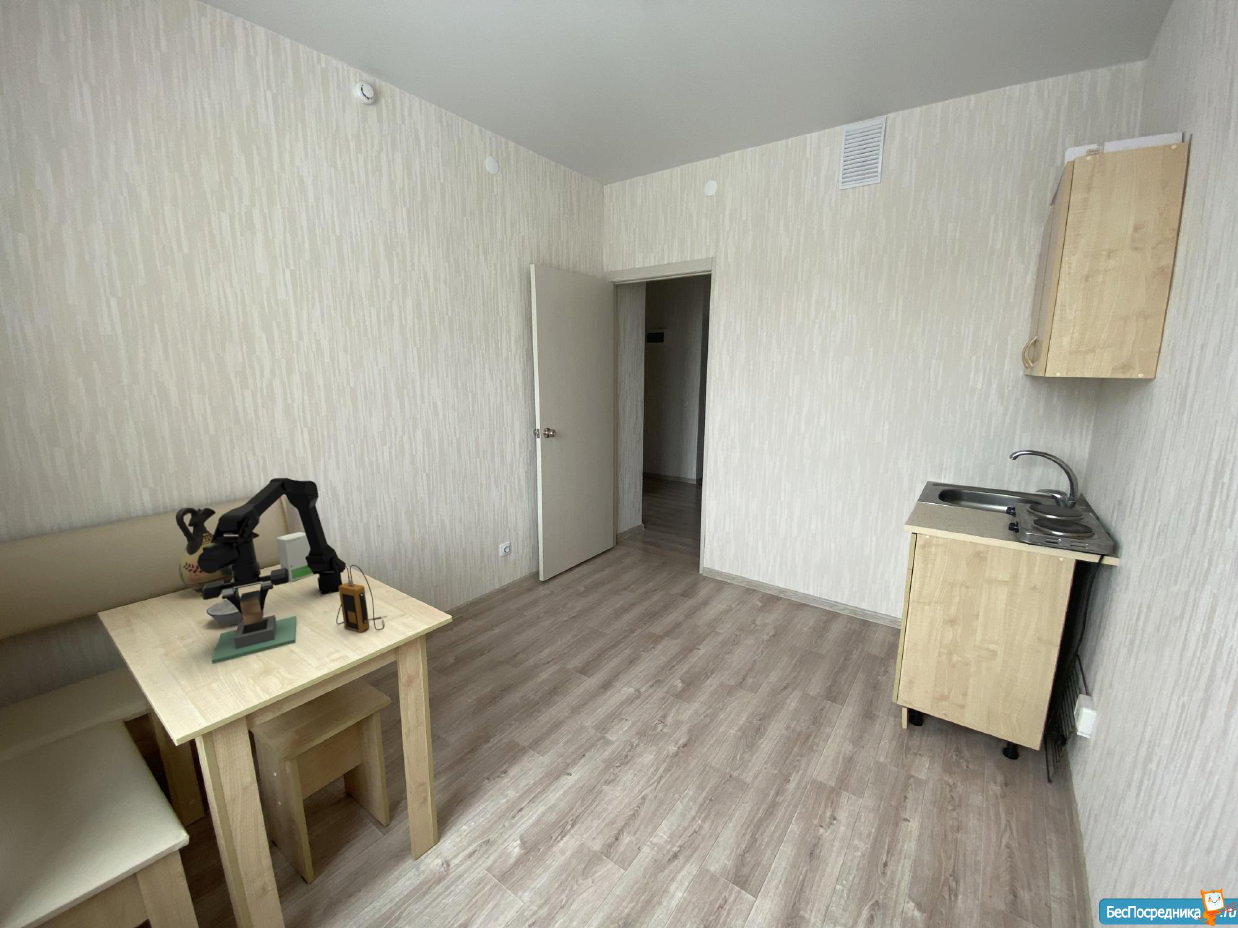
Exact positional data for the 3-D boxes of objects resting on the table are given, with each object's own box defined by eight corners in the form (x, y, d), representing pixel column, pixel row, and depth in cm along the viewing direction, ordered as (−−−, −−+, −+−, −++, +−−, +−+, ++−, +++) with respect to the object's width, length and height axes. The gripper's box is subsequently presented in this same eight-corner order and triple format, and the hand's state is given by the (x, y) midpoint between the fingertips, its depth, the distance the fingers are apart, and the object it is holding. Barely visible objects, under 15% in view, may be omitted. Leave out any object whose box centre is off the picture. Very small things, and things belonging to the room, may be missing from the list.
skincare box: (290, 582, 180) (283, 540, 177) (281, 579, 183) (274, 537, 180) (315, 574, 187) (308, 533, 184) (305, 570, 190) (299, 530, 187)
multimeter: (399, 619, 151) (391, 555, 147) (371, 635, 142) (361, 567, 138) (364, 610, 157) (356, 548, 153) (335, 626, 148) (325, 560, 144)
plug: (263, 613, 144) (259, 589, 143) (262, 621, 139) (257, 597, 138) (246, 616, 142) (241, 593, 141) (244, 625, 137) (239, 600, 136)
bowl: (197, 627, 150) (194, 611, 149) (239, 607, 162) (236, 592, 161) (232, 631, 147) (230, 615, 146) (272, 610, 159) (269, 596, 158)
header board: (296, 618, 153) (294, 606, 152) (295, 642, 139) (293, 629, 139) (221, 636, 144) (218, 623, 143) (212, 663, 130) (209, 649, 130)
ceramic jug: (213, 579, 185) (197, 499, 179) (251, 580, 183) (236, 499, 177) (166, 601, 168) (147, 513, 163) (207, 602, 166) (189, 513, 160)
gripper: (285, 542, 149) (293, 592, 152) (204, 556, 139) (214, 609, 142) (283, 554, 139) (292, 607, 142) (196, 570, 130) (208, 626, 133)
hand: (253, 612), depth 140 cm, fingers closed on plug, 4 cm apart
